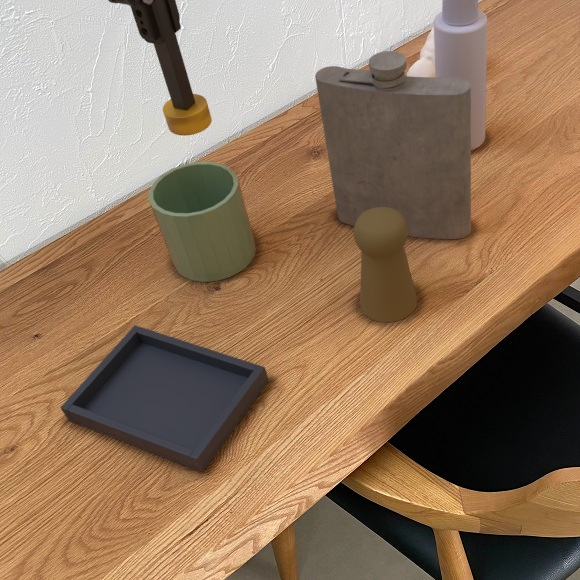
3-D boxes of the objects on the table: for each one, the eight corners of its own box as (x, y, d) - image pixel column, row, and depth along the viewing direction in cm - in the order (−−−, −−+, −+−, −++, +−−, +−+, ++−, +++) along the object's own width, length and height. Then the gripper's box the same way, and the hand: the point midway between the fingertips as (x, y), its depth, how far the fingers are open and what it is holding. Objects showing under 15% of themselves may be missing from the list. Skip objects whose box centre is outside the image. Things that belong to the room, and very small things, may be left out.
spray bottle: (494, 144, 100) (499, -41, 83) (451, 159, 99) (448, -26, 82) (470, 121, 104) (470, -60, 87) (429, 135, 102) (421, -46, 85)
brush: (159, 131, 80) (110, -13, 69) (184, 108, 82) (141, -35, 71) (196, 139, 78) (152, -7, 67) (220, 115, 81) (181, -29, 70)
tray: (68, 421, 76) (59, 407, 75) (141, 339, 83) (134, 324, 81) (202, 472, 71) (196, 459, 70) (269, 381, 78) (264, 366, 76)
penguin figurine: (485, 9, 104) (424, 55, 100) (488, 68, 111) (431, 113, 107) (448, -4, 107) (388, 40, 103) (453, 54, 114) (397, 98, 110)
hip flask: (473, 223, 91) (474, 53, 75) (465, 246, 88) (463, 76, 73) (343, 205, 94) (317, 40, 79) (331, 226, 92) (303, 61, 77)
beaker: (157, 270, 89) (130, 204, 82) (203, 220, 95) (182, 154, 88) (226, 290, 86) (205, 224, 79) (271, 237, 92) (254, 171, 85)
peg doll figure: (405, 327, 81) (398, 242, 72) (351, 315, 83) (337, 231, 74) (425, 288, 84) (419, 203, 76) (372, 277, 86) (361, 193, 78)
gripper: (111, -219, 65) (172, -2, 78) (-7, -164, 57) (84, 66, 71) (186, -215, 62) (236, 8, 76) (75, -157, 55) (152, 80, 68)
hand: (162, 35), depth 73 cm, fingers closed on brush
